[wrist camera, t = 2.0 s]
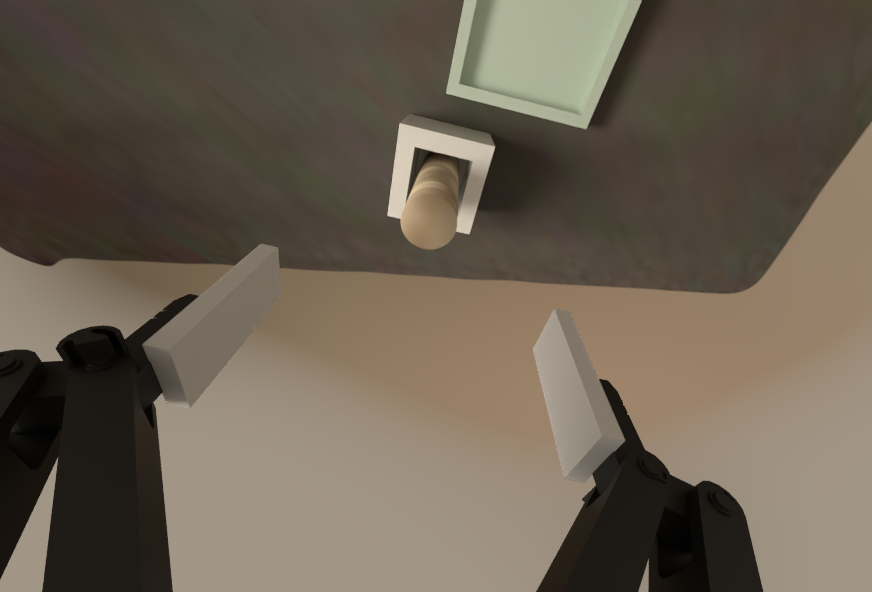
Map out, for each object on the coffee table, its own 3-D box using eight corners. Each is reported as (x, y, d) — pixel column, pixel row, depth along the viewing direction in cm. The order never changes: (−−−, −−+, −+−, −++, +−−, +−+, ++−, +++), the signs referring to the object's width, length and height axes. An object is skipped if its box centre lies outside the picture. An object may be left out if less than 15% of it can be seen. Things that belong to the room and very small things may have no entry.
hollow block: (398, 193, 39) (387, 215, 33) (410, 113, 34) (399, 123, 29) (468, 210, 40) (469, 234, 34) (489, 133, 35) (495, 146, 29)
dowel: (420, 181, 37) (396, 242, 24) (427, 143, 35) (405, 189, 22) (454, 189, 38) (449, 254, 25) (463, 152, 35) (463, 203, 22)
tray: (447, 91, 33) (446, 93, 31) (481, -82, 26) (482, -93, 24) (579, 125, 34) (586, 129, 32) (646, -34, 27) (659, -41, 25)
